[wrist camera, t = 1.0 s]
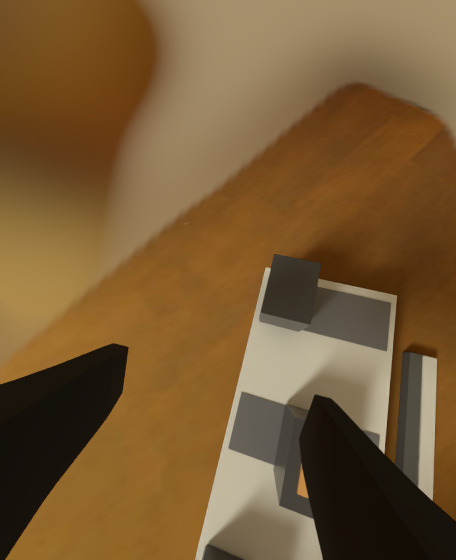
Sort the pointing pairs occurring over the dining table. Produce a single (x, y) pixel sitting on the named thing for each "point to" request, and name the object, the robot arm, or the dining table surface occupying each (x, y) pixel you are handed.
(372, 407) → the white panel with blocks
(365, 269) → the dining table surface
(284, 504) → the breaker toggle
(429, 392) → the long grey stick
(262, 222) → the dining table surface
